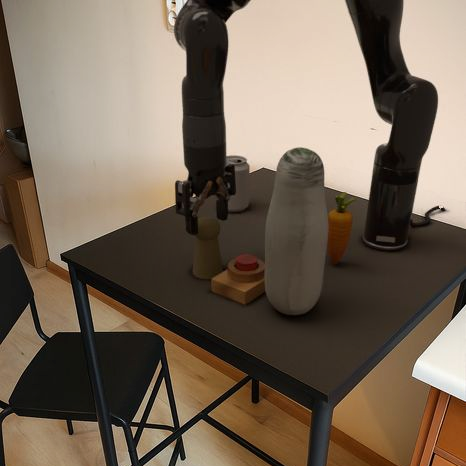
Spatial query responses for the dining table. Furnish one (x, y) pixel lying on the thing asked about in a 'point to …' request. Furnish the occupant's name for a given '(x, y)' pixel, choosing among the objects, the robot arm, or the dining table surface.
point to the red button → (246, 262)
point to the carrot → (339, 228)
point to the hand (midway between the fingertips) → (207, 226)
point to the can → (239, 184)
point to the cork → (207, 249)
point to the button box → (240, 282)
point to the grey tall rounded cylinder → (296, 233)
